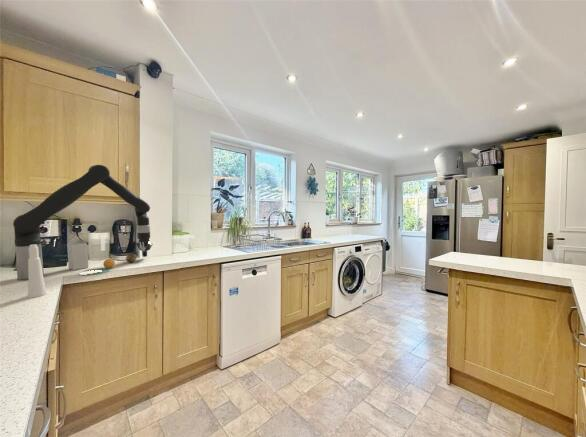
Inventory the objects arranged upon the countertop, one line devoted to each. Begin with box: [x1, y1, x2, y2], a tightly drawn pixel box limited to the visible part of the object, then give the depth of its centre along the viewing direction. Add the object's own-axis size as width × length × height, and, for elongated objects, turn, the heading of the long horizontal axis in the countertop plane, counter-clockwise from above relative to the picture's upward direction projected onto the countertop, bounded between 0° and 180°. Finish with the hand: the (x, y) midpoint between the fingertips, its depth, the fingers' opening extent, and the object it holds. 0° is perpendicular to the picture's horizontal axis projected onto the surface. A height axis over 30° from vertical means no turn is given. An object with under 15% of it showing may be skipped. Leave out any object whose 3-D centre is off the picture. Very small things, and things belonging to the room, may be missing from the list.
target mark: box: [82, 267, 111, 277], centre depth 142 cm, size 14×14×1 cm
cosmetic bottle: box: [26, 244, 48, 299], centre depth 107 cm, size 6×6×22 cm
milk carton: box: [66, 235, 89, 271], centre depth 148 cm, size 7×7×19 cm
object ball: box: [102, 258, 116, 269], centre depth 149 cm, size 6×6×6 cm
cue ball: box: [125, 253, 137, 263], centre depth 162 cm, size 6×6×6 cm
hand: (144, 256), depth 172 cm, fingers closed
